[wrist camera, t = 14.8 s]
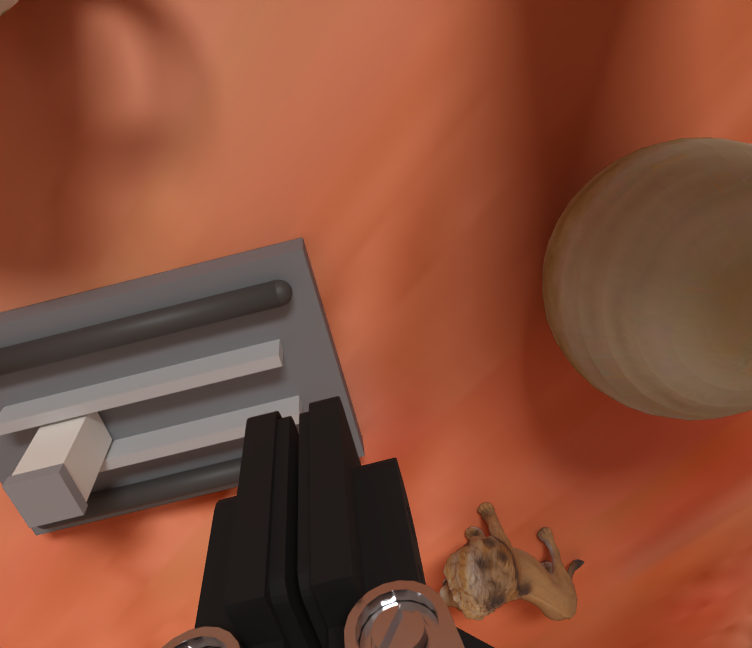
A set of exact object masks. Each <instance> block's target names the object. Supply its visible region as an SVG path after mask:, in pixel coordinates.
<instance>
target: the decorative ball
mask: <svg viewBox="0 0 752 648" xmlns="http://www.w3.org/2000/svg"><path fill="white" fill-rule="evenodd" d="M542 294H543V300H544V306H545V312H546V317H547V321H548V323H549V326H550V328H551V331H552V333H553V336H554V338H555V341H556V343H557V344H558V346H559V347H560V349H561V350H562V352H563V353H564V355H565V356H566V358H567V359H568V361H569V362H570V363H571V364H572V366H573V367H574V368H575V369H576V371H578V372H579V373H580V374H581V375H582V376H583V377H584V378H585V379H586V380H587V381H588V382H589V383H590V384H591V385H592V386H593V387H594V388H596V389H598V390H599V391H601V392H603V393H604V394H606V395H607V396H609V397H611V398H612V399H614V400H616V401H618V402H619V403H621V404H623V405H625V406H627V407H630V408H633V409H635V410H638V411H641V412H644V413H647V414H649V415H655V416H663V417H670V418H677V419H684V420H705V419H717V418H721V417H725V416H730V415H734V414H738V413H742V412H746V411H750V410H752V144H748V143H743V142H738V141H732V140H727V139H719V138H680V139H676V140H672V141H668V142H663V143H659V144H655V145H651V146H648V147H645V148H642V149H639V150H637V151H635V152H633V153H630V154H628V155H626V156H624V157H622V158H620V159H617V160H616V161H614V162H613V163H611V164H610V165H609V166H607V167H606V168H604V169H603V170H602V171H600V172H599V173H597V174H596V175H595V176H593V177H592V178H591V179H590V180H589V182H588V183H587V184H586V185H585V186H584V187H583V188H582V189H581V190H580V191H579V192H578V193H577V194H576V195H575V196H574V197H573V198H572V199H571V201H570V202H569V204H568V205H567V207H566V208H565V210H564V211H563V213H562V214H561V216H560V217H559V219H558V220H557V223H556V225H555V227H554V230H553V232H552V235H551V237H550V239H549V242H548V245H547V249H546V254H545V258H544V263H543V278H542Z"/></svg>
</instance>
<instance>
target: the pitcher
mask: <svg viewBox="0 0 752 648" xmlns="http://www.w3.org/2000/svg"><path fill="white" fill-rule="evenodd" d="M18 1H19V0H0V16H1V15H3V14H4V13H5V12H7V11H8V10H9V9H10V8H11V7H13V6H14V5H15V4H16V3H17V2H18Z"/></svg>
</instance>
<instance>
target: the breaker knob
mask: <svg viewBox="0 0 752 648" xmlns="http://www.w3.org/2000/svg"><path fill="white" fill-rule="evenodd" d="M111 441H112V438H111V436H110V434H109V432H108V431H107V429H106V427H105V425H104V423H103V421H102V419H101V417H100V416H99V414H98V412H94V413H90V414H85V415H81V416H77V417H73V418H69V419H65V420H61V421H57V422H53V423H49V424H45V425H41V426H40V428H39V430H38V431H37V433H36V435H35V436H34V438H33V440H32V442H31V443H30V445H29V447H28V448H27V450H26V452H25V454H24V455H23V457H22V459H21V460H20V462H19V464H18V466H17V467H16V469H15V471H14V472H13V474H12V476H9V477H7V479H6V481H5V482H4V484H3V486H2V487H3V489H4V490H5V492H6V493H7V495H8V496H9V498H10V499H11V501H12V502H13V504H14V505H15V507H16V508H17V510H18V511H19V513H20V514H21V516H22V517H23V519H24V520H25V522H26V523H27V525H28V526H29V528H32V527H36V526H40V525H45V524H49V523H53V522H57V521H61V520H65V519H69V518H73V517H78V516H82V515H84V514H85V511H86V509H87V506H88V504H87V500H88V497H89V495H90V492H91V490H92V487H93V485H94V483H95V480H96V478H97V475H98V473H99V470H100V468H101V466H102V463H103V461H104V458H105V456H106V453H107V451H108V449H109V446H110V444H111Z"/></svg>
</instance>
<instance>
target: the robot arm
mask: <svg viewBox="0 0 752 648" xmlns="http://www.w3.org/2000/svg"><path fill="white" fill-rule="evenodd" d="M162 648H494V647H492V646H490V645H488V644H487V643H485V642H483V641H481V640H479V639H477V638H475V637H474V636H472V635H470V634H468V633H466V632H464V631H463V630H461V629H459V628H457V627H456V626H455V623H454V621H453V619H452V616H451V614H450V611H449V609H448V607H447V605H446V604H445V602H444V600H443V599H442V597H441V596H440V594H438V593H437V592H436V591H434V590H433V589H432V588H430V587H429V586H427V585H426V583H425V578H424V573H423V568H422V563H421V558H420V553H419V548H418V543H417V538H416V533H415V528H414V524H413V519H412V515H411V511H410V507H409V503H408V499H407V495H406V491H405V487H404V483H403V480H402V476H401V472H400V469H399V465H398V462H397V459H396V458H391V459H387V460H383V461H379V462H375V463H371V464H367V465H363V466H361V463H360V460H359V457H358V453H357V450H356V447H355V444H354V440H353V437H352V434H351V431H350V427H349V424H348V421H347V417H346V414H345V411H344V408H343V405H342V402H341V399H340V397H339V396H336V397H332V398H328V399H323V400H319V401H315V402H311V403H309V411H308V412H304V413H300V414H299V433H298V431H297V428H296V425H295V422H294V420H293V418H292V416H288V417H284V418H282V416H281V414H280V412H279V411H274V412H270V413H266V414H262V415H258V416H254V417H250V418H248V419H247V422H246V428H245V436H244V444H243V452H242V459H241V467H240V475H239V483H238V491H237V496H234V497H230V498H226V499H222V500H219V501H218V502H217V503H216V506H215V510H214V515H213V521H212V527H211V533H210V539H209V545H208V551H207V557H206V563H205V569H204V575H203V581H202V587H201V593H200V599H199V605H198V611H197V617H196V623H195V629H192V630H188V631H186V632H185V633H183V634H181V635H179V636H177V637H175V638H173V639H172V640H171V641H169V642H168V643H167V644H166V645H164V646H163V647H162Z"/></svg>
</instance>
